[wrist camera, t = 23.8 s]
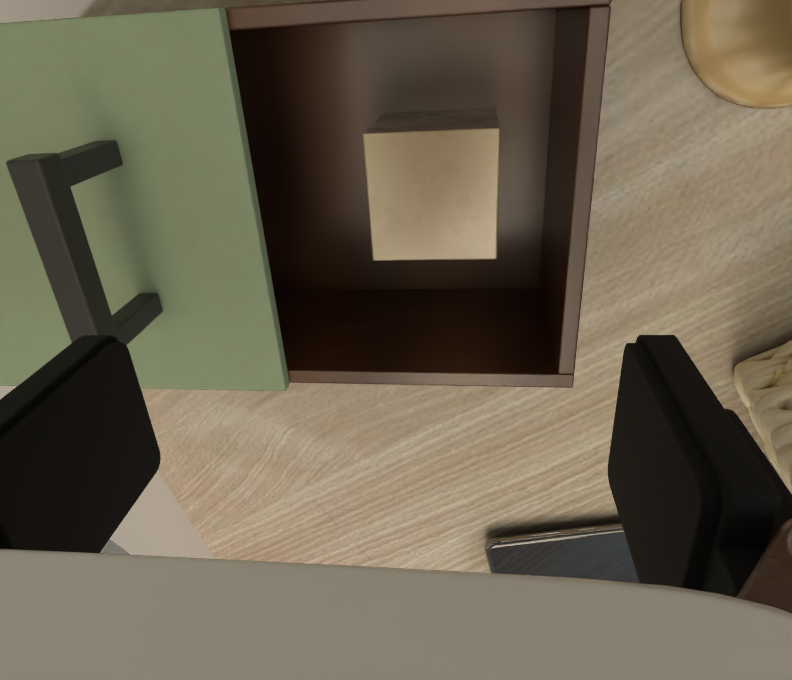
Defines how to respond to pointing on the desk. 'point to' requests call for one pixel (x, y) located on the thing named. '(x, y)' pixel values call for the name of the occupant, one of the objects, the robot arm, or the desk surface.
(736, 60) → the hand bell
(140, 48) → the lid
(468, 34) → the box
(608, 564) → the smartphone
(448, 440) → the desk surface
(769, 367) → the basket
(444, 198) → the block
